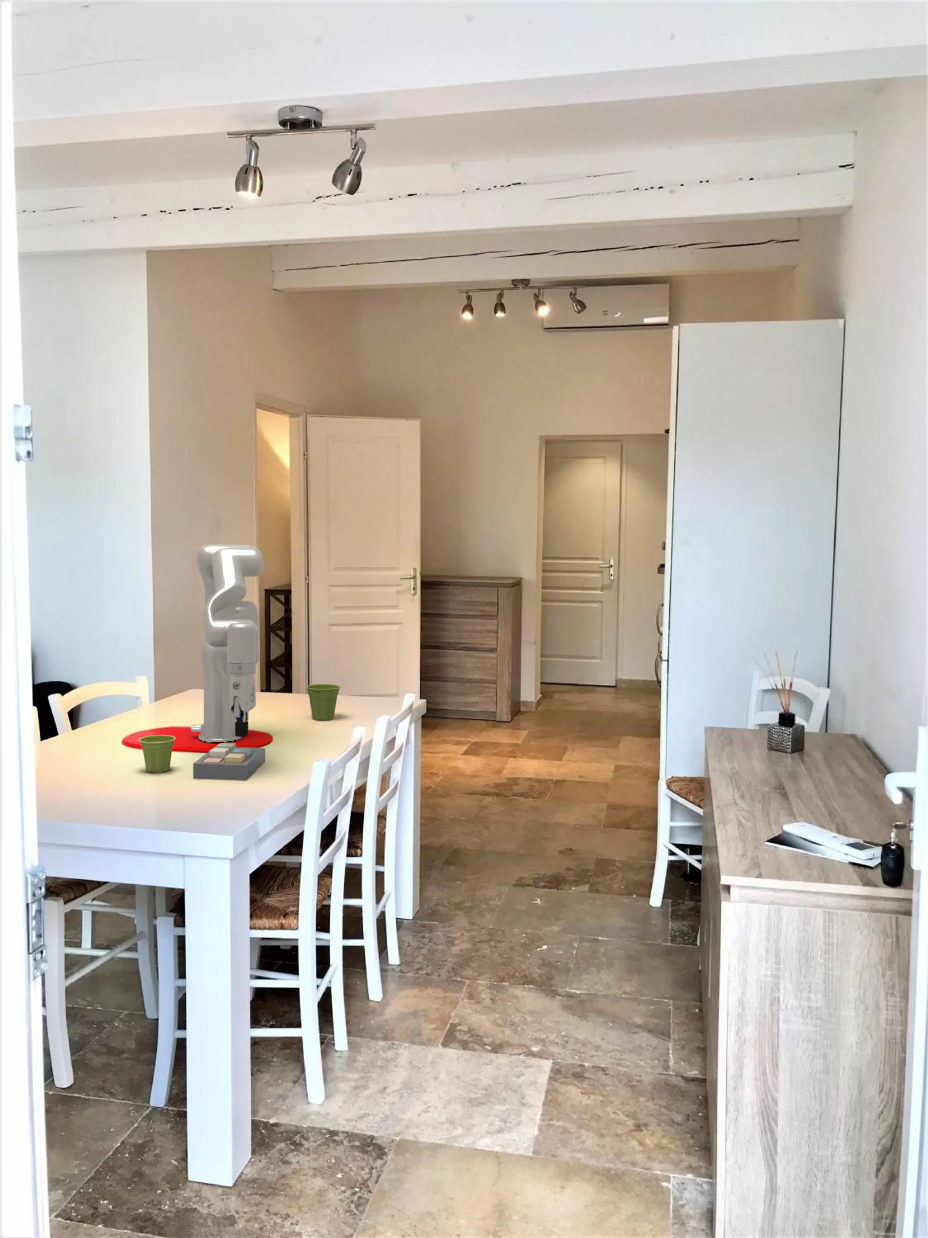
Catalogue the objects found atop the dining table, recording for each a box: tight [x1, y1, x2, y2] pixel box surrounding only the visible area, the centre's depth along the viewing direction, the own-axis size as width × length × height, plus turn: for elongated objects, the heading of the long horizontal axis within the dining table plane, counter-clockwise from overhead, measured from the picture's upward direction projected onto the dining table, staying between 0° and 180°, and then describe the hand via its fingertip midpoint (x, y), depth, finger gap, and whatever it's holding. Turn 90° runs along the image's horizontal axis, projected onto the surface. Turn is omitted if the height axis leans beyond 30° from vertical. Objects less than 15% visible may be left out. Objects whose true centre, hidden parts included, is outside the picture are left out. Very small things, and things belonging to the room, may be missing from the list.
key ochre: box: [225, 753, 245, 764], centre depth 269 cm, size 4×4×3 cm
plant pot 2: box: [305, 683, 342, 722], centre depth 347 cm, size 12×12×11 cm
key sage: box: [215, 742, 237, 752], centre depth 281 cm, size 4×4×3 cm
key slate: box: [232, 748, 251, 758], centre depth 275 cm, size 4×4×3 cm
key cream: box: [209, 747, 229, 758], centre depth 275 cm, size 4×4×3 cm
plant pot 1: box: [138, 734, 176, 774], centre depth 273 cm, size 9×9×9 cm
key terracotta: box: [203, 758, 223, 763], centre depth 269 cm, size 4×4×3 cm
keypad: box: [192, 746, 266, 781], centre depth 275 cm, size 14×20×4 cm
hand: (241, 736), depth 274 cm, fingers closed
